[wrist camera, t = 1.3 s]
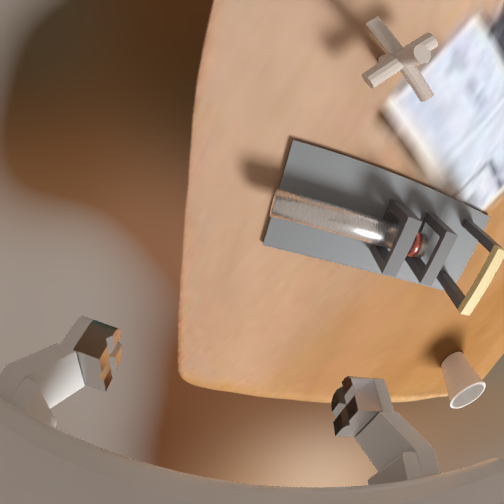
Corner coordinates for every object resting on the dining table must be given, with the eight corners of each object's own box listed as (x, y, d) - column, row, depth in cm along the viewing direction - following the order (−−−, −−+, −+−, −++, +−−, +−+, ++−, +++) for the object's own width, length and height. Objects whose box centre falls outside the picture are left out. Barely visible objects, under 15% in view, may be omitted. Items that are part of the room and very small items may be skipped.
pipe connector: (435, 77, 27) (480, 78, 19) (379, 116, 31) (414, 126, 22) (387, 11, 24) (423, -10, 15) (327, 49, 28) (347, 32, 19)
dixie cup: (429, 373, 53) (442, 410, 44) (449, 346, 49) (467, 383, 40) (455, 373, 53) (469, 407, 44) (475, 347, 49) (493, 381, 40)
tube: (277, 183, 34) (277, 192, 31) (421, 228, 36) (432, 240, 32) (269, 210, 36) (269, 222, 33) (411, 250, 37) (420, 263, 34)
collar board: (292, 139, 33) (299, 154, 25) (487, 215, 35) (524, 245, 27) (263, 242, 40) (260, 285, 32) (449, 290, 42) (474, 328, 34)
